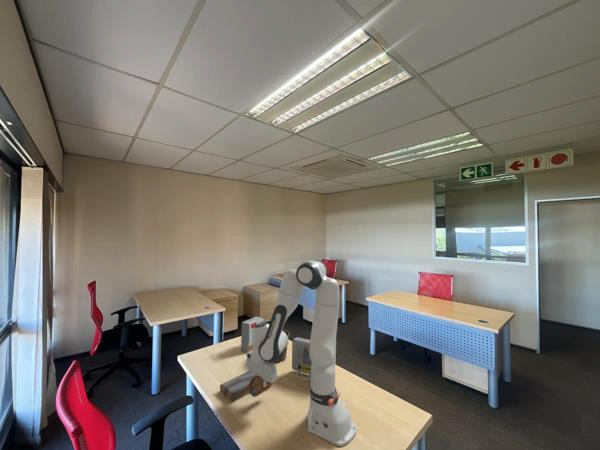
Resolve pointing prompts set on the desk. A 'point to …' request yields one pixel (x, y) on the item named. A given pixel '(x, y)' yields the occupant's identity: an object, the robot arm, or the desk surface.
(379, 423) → the desk surface
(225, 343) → the desk surface
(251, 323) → the hard drive box
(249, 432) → the desk surface
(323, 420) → the robot arm
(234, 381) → the plinth
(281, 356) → the plant pot
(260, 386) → the tin
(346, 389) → the desk surface
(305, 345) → the network device
